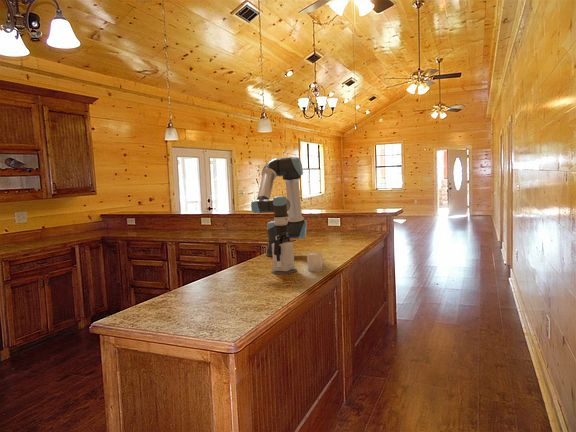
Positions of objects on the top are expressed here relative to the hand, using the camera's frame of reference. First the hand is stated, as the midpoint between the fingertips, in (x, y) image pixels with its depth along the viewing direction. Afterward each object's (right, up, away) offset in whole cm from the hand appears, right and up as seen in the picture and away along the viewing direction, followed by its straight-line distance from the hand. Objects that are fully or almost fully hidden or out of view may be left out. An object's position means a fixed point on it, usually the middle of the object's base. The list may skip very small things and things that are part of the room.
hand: (283, 264), depth 235 cm
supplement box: (0, -3, 0) cm, 3 cm away
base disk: (0, -4, 0) cm, 4 cm away
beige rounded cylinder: (+17, -3, -2) cm, 18 cm away
